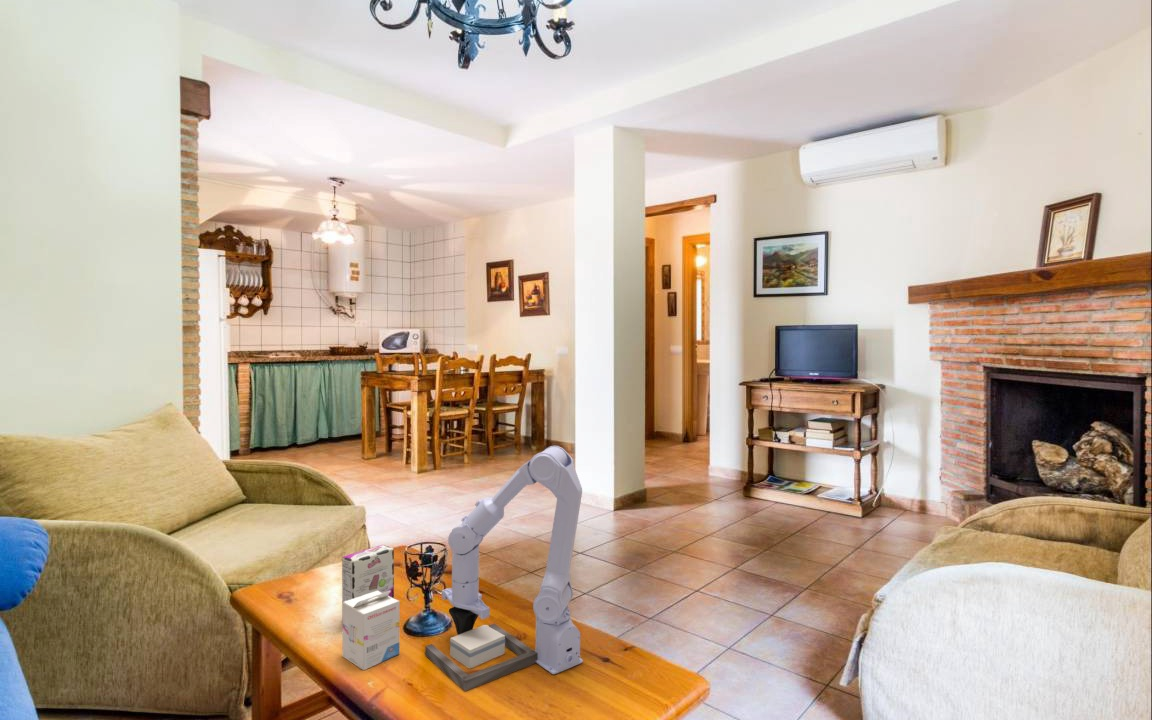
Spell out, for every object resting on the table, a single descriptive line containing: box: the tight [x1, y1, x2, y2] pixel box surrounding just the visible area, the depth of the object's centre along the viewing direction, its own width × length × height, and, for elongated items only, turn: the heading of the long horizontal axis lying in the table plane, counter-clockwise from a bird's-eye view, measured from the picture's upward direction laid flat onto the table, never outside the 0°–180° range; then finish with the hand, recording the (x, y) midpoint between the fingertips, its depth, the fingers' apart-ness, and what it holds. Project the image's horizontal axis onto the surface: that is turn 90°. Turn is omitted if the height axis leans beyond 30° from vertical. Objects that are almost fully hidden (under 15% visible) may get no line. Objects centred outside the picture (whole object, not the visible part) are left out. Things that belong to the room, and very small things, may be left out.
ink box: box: [342, 590, 401, 671], centre depth 127 cm, size 9×8×13 cm
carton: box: [449, 624, 506, 670], centre depth 129 cm, size 7×9×4 cm
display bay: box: [424, 623, 538, 692], centre depth 127 cm, size 17×17×2 cm
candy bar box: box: [341, 544, 395, 624], centre depth 143 cm, size 11×5×16 cm, turn 143°
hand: (464, 640), depth 132 cm, fingers closed
